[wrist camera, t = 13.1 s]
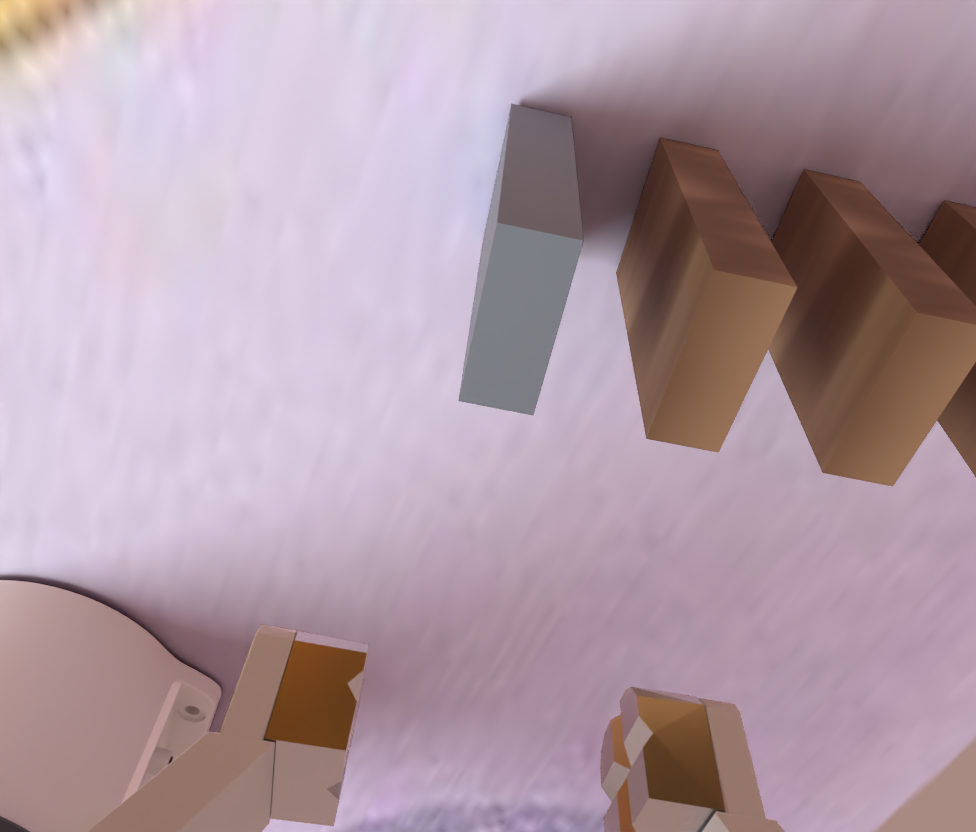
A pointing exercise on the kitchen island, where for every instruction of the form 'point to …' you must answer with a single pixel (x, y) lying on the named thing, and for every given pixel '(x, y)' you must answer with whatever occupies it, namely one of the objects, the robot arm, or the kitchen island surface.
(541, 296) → the slate domino
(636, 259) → the domino
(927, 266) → the domino
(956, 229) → the domino
